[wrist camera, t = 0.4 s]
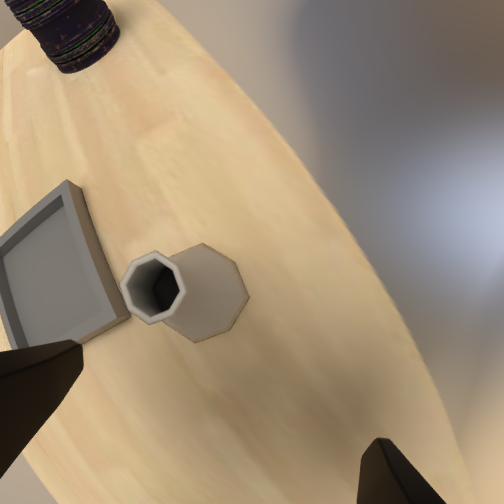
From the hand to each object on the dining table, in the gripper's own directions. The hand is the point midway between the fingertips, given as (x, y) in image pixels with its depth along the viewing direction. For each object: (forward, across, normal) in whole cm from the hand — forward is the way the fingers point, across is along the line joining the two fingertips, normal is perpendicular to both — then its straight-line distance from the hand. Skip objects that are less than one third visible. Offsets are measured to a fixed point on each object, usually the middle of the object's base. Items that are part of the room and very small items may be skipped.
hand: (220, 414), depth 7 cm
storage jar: (+24, +31, -19) cm, 43 cm away
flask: (+15, +5, +4) cm, 16 cm away
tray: (+13, +19, +7) cm, 24 cm away
